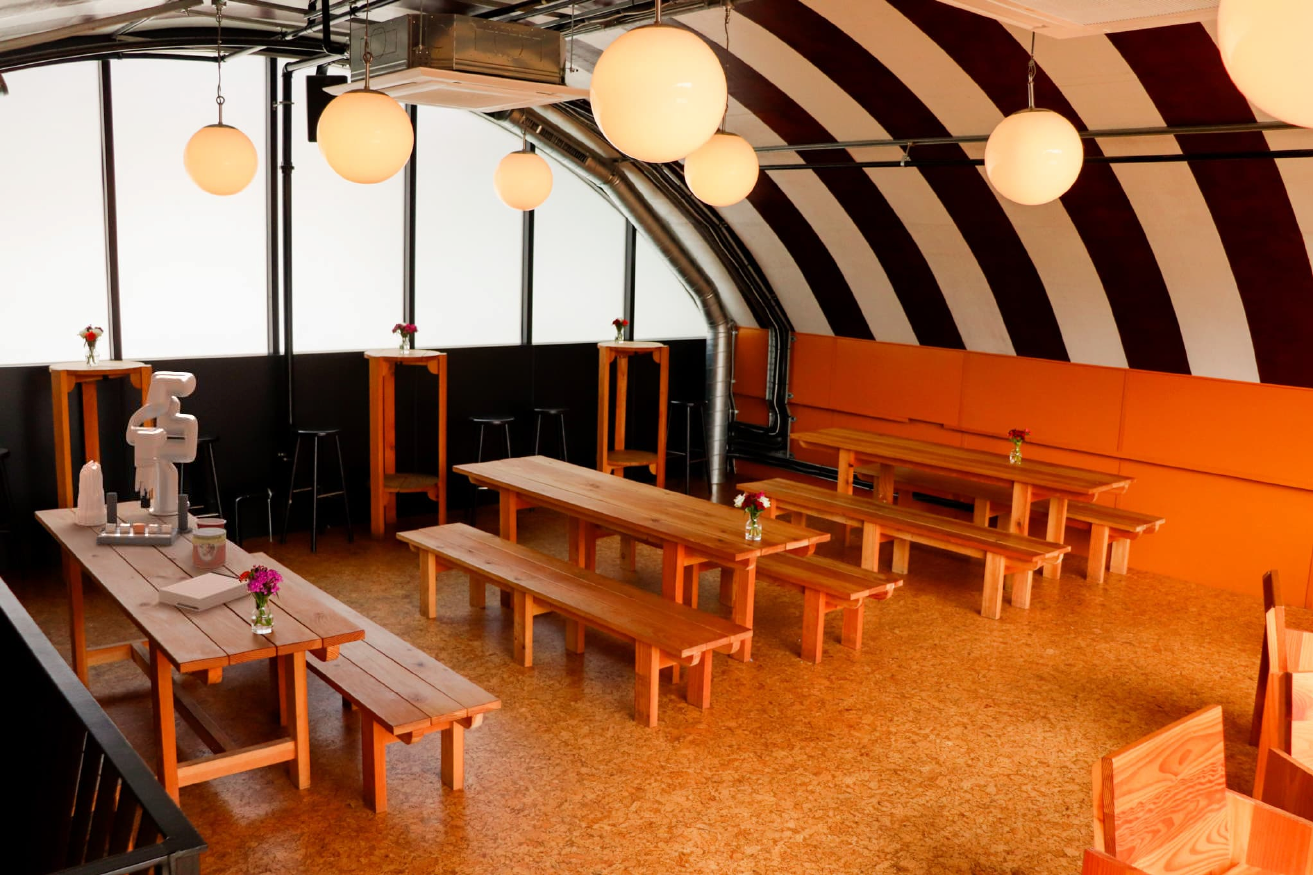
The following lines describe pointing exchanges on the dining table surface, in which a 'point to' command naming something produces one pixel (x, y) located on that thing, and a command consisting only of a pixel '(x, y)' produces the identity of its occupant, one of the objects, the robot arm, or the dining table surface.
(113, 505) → the knob
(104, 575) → the dining table surface
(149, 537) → the breaker panel
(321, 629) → the dining table surface
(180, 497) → the post
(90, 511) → the white ridged tapered column
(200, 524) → the plastic cup
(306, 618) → the dining table surface
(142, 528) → the block
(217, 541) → the canned food
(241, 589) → the disc drive
